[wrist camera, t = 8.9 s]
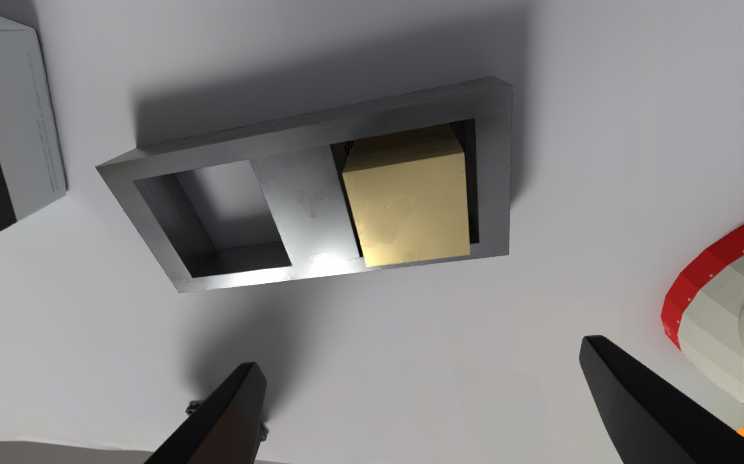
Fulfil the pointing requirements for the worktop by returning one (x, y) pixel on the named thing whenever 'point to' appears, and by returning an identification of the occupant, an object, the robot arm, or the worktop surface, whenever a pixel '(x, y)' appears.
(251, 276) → the grey flat block
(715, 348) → the kitchen timer
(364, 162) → the brass cuboid
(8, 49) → the tea box
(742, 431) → the orange juice
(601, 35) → the worktop surface
